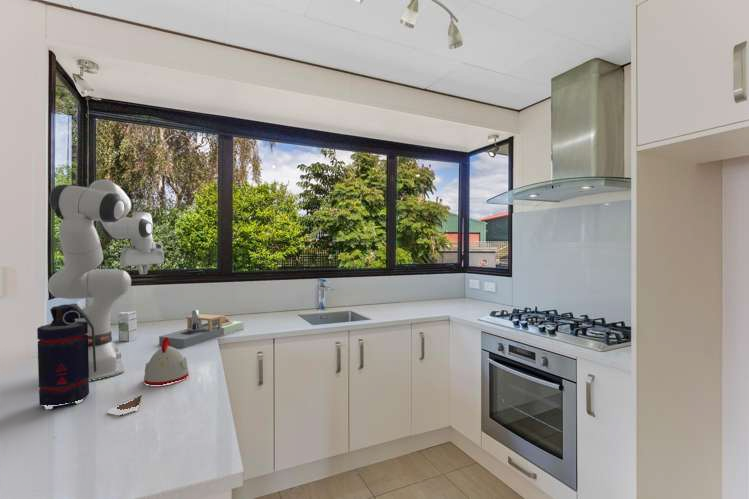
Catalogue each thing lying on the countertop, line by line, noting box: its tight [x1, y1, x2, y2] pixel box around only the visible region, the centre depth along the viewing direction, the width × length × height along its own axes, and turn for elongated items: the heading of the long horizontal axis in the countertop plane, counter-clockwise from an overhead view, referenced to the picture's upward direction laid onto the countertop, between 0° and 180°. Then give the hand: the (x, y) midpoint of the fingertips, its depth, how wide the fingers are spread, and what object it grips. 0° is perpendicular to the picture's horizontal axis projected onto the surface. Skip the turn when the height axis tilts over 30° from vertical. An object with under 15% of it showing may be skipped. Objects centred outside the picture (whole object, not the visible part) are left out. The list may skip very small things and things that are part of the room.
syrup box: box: [117, 310, 138, 342], centre depth 186 cm, size 6×6×14 cm
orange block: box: [212, 314, 227, 326], centre depth 202 cm, size 5×5×4 cm
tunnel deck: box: [158, 313, 245, 349], centre depth 193 cm, size 40×16×10 cm, turn 158°
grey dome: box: [143, 337, 189, 385], centre depth 133 cm, size 14×14×15 cm
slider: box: [186, 309, 234, 332], centre depth 197 cm, size 22×10×10 cm, turn 158°
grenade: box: [36, 303, 96, 406], centre depth 114 cm, size 14×12×30 cm
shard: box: [117, 394, 142, 410], centre depth 110 cm, size 11×8×2 cm
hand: (143, 274), depth 178 cm, fingers closed
